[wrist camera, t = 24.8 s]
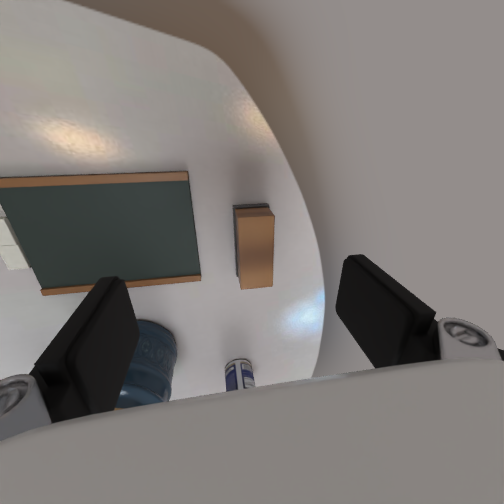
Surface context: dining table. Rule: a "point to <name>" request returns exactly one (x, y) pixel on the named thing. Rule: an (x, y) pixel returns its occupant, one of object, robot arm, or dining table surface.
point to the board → (104, 228)
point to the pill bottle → (239, 375)
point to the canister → (149, 368)
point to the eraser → (254, 245)
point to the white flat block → (7, 233)
